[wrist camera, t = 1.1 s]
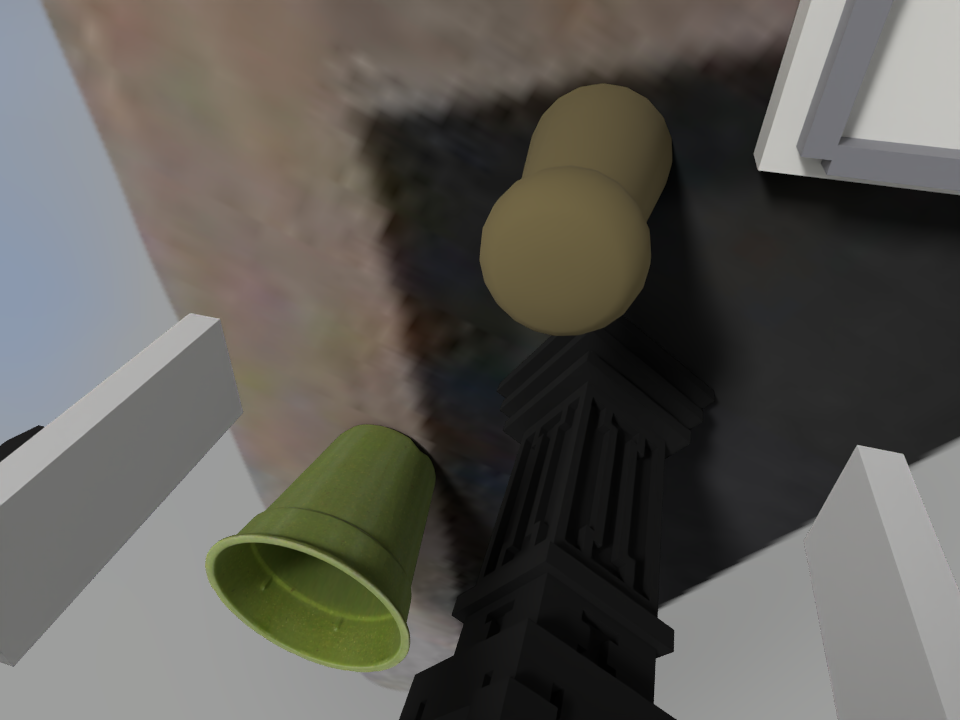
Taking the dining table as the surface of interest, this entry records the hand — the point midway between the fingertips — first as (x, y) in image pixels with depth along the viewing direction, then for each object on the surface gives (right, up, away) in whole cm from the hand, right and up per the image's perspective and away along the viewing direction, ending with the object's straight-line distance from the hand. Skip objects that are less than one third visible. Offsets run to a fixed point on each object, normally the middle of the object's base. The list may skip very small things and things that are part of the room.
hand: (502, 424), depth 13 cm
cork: (+5, +10, +13) cm, 17 cm away
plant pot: (-7, -6, +29) cm, 30 cm away
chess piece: (+6, 0, +20) cm, 21 cm away
